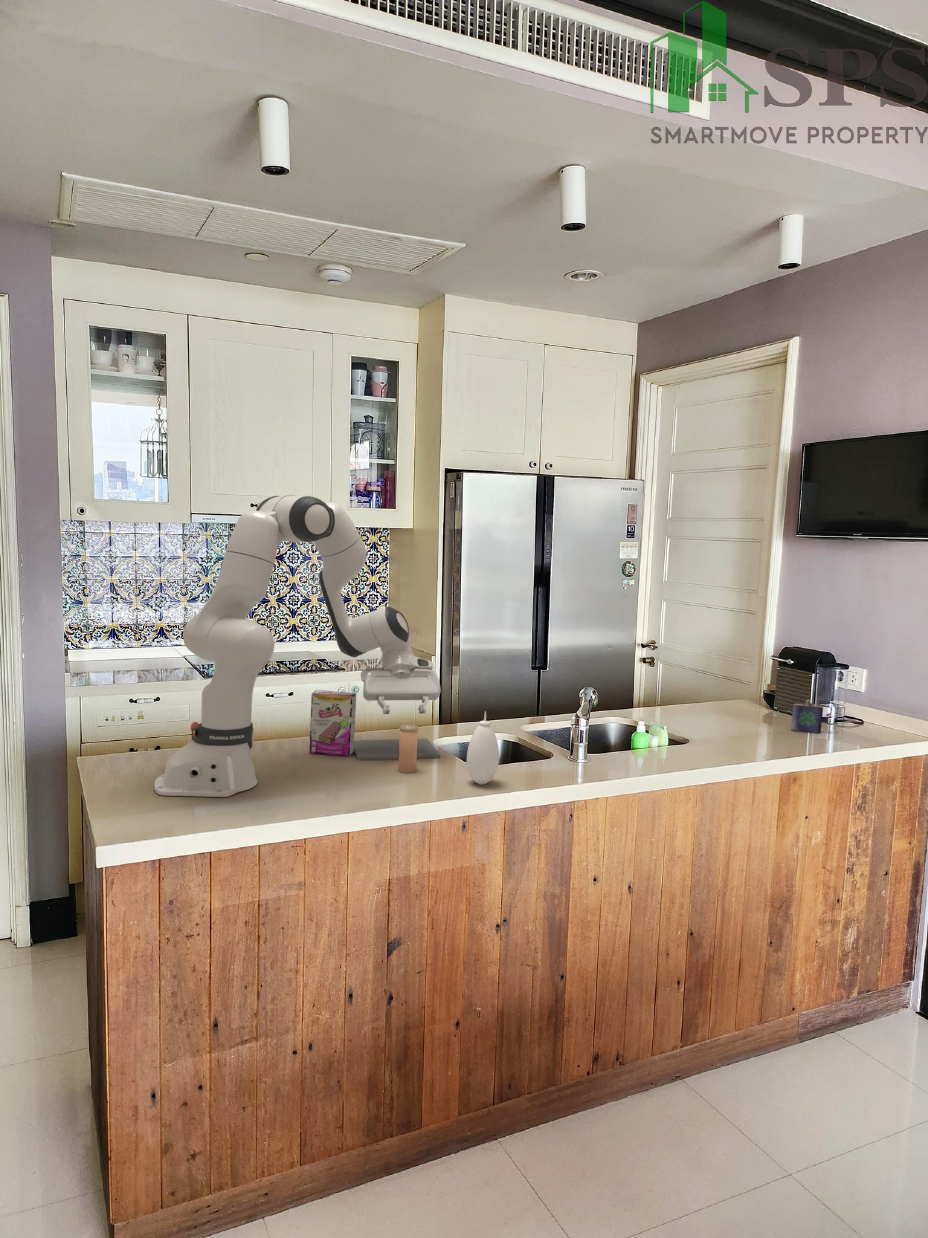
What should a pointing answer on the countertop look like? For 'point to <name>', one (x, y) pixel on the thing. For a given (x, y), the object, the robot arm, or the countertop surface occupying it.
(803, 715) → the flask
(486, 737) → the white air blower bulb
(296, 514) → the robot arm
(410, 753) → the spice jar
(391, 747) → the mat
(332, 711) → the candy bar box
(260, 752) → the countertop surface
